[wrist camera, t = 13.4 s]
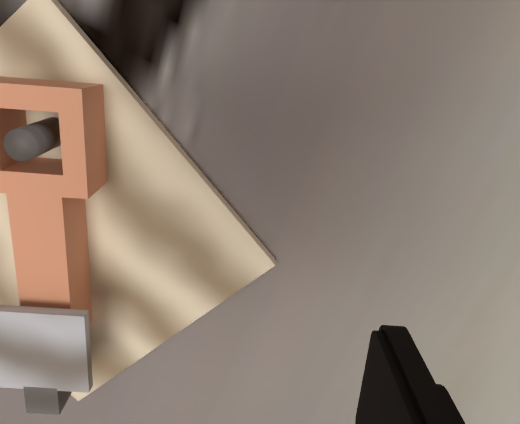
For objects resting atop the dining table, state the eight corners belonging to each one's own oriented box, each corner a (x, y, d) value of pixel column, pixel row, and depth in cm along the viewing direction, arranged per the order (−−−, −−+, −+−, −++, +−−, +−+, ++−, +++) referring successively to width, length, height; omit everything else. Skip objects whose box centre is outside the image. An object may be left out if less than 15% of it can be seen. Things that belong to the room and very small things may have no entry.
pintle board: (48, -11, 30) (-11, -27, 24) (274, 258, 37) (278, 304, 30) (-151, 183, 35) (-247, 215, 28) (83, 391, 41) (49, 456, 35)
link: (-1, 76, 31) (-37, 80, 27) (103, 84, 31) (81, 89, 27) (27, 315, 37) (1, 345, 34) (113, 321, 37) (96, 351, 34)
